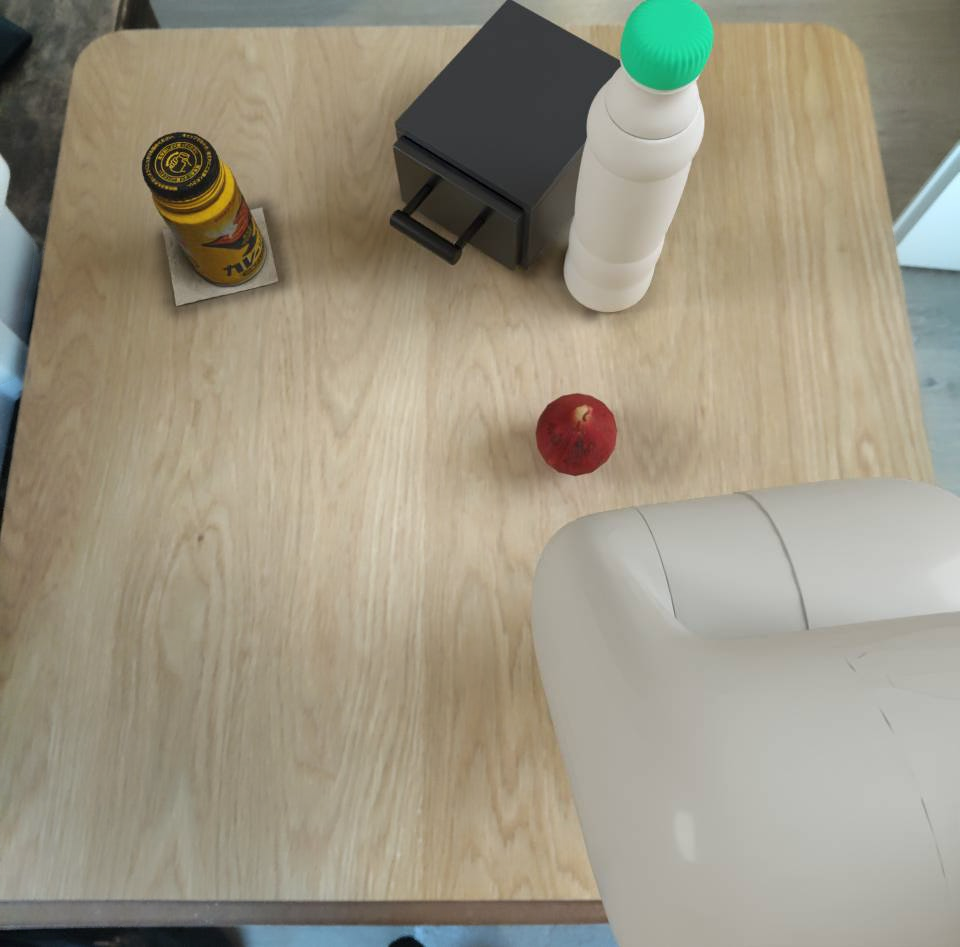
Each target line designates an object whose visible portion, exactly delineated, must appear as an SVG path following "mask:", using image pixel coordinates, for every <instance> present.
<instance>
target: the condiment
mask: <svg viewBox="0 0 960 947" xmlns="http://www.w3.org/2000/svg"><path fill="white" fill-rule="evenodd" d="M141 172H142V177H143V180H144V183H145V184H146V186H147V187H148V189H149V191H150V193H151V198H152V202H153V205H154V206H155V208H156V211H157V212H158V214H159V215H160V216H161V218H162V220H163V221H164V222H165V224H166V226H167V227H168V228H165V229H162V235H163V239H164V244H165V250H166V255H167V261H168V264H169V265H168V267H169V272H170V276H171V277H170V278H171V284H172V289H173V296H174V302H175V306H176V307H178V306H183V305H186V304H191V303H196V302H198V301H202V300H206V299H211V298H215V297H220V296H225V295H230V294H235V293H239V292H242V291H247V290H250V289H256V288H260V287H263V286H268V285H271V284H275V283H277V282H279V278H278V272H277V268H276V263H275V259H274V254H273V250H272V244H271V241H270V240H271V239H270V236H269V232H268V227H267V223H266V218H265V214H264V209H263V207H262V206H261V207H258V208H254V209H251V208H250V207H249V205H248V203H247V201H246V199H245V196H244V195H243V193H242V191H241V189H240V187H239V185H238V182H237V180H236V179H237V178H236V177H235V176H234V174H233V172H232V170H231V168H230V167H229V166H228V165H227V164H226V163H225V162H223V161H222V160H221V158H220V157H219V155H218V153H217V151H216V149H215V148H214V146H213V145H212V143H210V142H209V141H208V140H207V139H205V138H203V137H202V136H200V135H198V134H197V133H194V132H189V131H187V132H186V131H176V132H171V133H166V134H164V135H163V136H160V137H157V139H155V141H153V142H152V143H151V145H150V146H149V147H148V149H147V150H146V152H145V154H144V156H143V158H142V160H141Z"/></svg>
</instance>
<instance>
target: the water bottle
mask: <svg viewBox="0 0 960 947" xmlns="http://www.w3.org/2000/svg"><path fill="white" fill-rule="evenodd" d="M622 30H623V31H622V35H621V40H620V44H619V45H620V47H619V56H620V57H619V60H620V63H621V67H620V68H619V69H618V70H617V71H616V72H615V74H614V75H613V77H612V78H611V79H610V80H609V81H608V82H607V83H606V84H605V85H604V86H603V87H602V88H601V89H600V91H599V92H598V93H597V95H596V97H595V98H594V100H593V102H592V104H591V107H590V110H589V113H588V118H587V139H586V143H585V146H584V151H583V155H582V160H581V165H580V171H579V177H578V183H577V191H576V199H575V213H574V214H573V218H572V221H571V224H570V229H569V234H568V247H567V250H566V254H565V259H564V264H563V278H564V282H565V285H566V288H567V289H568V291H569V293H570V295H571V296H572V297H573V299H575V300H576V301H577V302H578V303H580V304H581V305H583V306H584V307H586V308H588V309H590V310H593V311H597V312H601V313H616V312H620V311H624V310H627V309H629V308H630V307H632V306H634V305H636V304H637V303H639V301H640V300H641V299H642V298H643V297H644V296H645V295H646V293H647V292H648V289H649V287H650V285H651V282H652V280H653V276H654V272H655V268H656V265H657V263H658V261H659V259H660V256H661V254H662V251H663V247H664V244H665V240H666V239H665V237H666V234H667V233H668V230H669V227H670V226H671V224H672V221H673V220H674V217H675V214H676V212H677V209H678V206H679V203H680V201H681V198H682V195H683V192H684V190H685V187H686V184H687V180H688V176H689V173H690V170H691V166H692V162H693V159H694V157H695V155H696V154H697V153H698V151H699V148H700V146H701V144H702V141H703V137H704V132H705V113H704V106H703V103H702V101H701V98H700V92H699V87H698V83H697V81H698V79H699V78H700V76H701V74H702V72H703V70H704V69H705V67H706V65H707V62H708V60H709V58H710V55H711V52H712V49H713V45H714V36H715V34H714V33H715V31H714V28H713V24H712V22H711V19H710V16H708V14H707V12H706V11H705V10H703V7H702V6H700V5H698V3H697V2H695V1H692V0H644V1H641V2H640V3H639V4H638V5H637V6H636V7H635V8H634V9H633V10H632V11H631V13H630V15H629V16H628V18H627V19H626V21H625V24H624V28H623V29H622Z"/></svg>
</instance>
